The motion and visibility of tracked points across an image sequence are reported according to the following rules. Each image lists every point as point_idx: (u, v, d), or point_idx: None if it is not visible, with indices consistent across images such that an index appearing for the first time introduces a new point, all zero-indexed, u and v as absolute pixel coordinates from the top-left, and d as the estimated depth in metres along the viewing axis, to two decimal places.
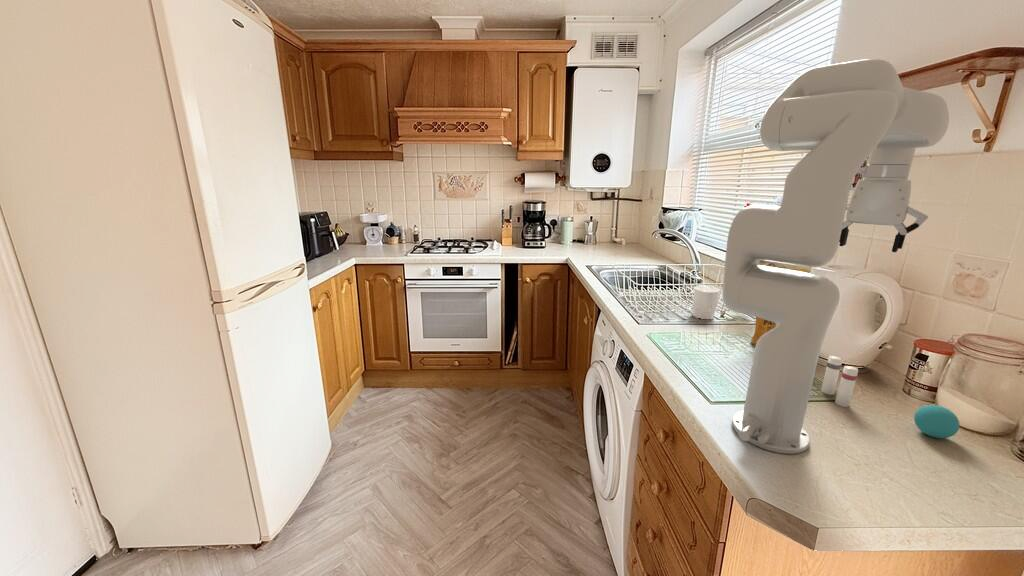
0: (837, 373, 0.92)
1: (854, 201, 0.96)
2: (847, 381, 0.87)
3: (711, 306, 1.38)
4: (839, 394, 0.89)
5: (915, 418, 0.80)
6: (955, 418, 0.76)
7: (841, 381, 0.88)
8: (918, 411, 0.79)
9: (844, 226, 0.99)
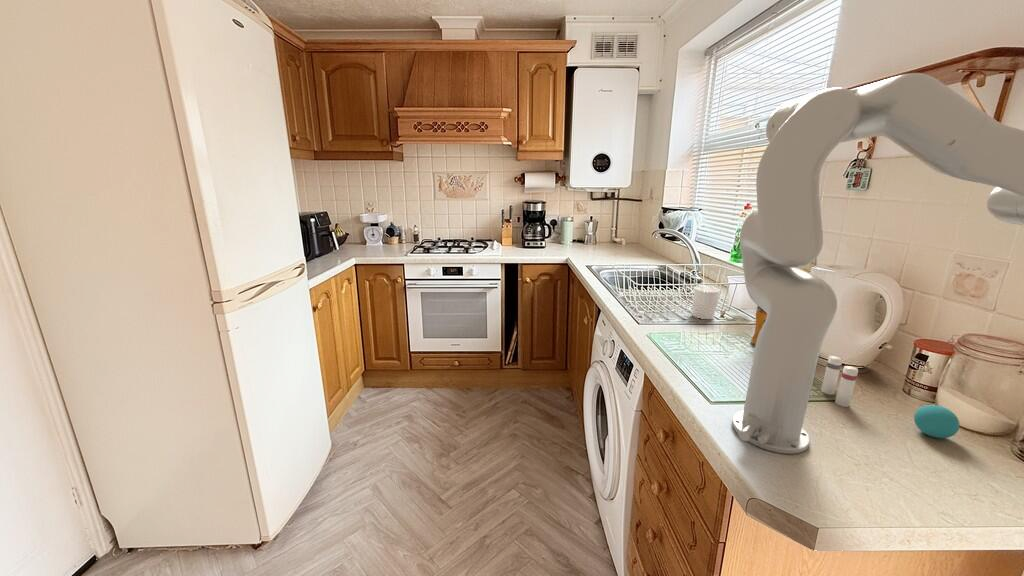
0: (837, 373, 0.92)
1: None
2: (847, 381, 0.87)
3: (711, 306, 1.38)
4: (839, 394, 0.89)
5: (915, 418, 0.80)
6: (955, 418, 0.76)
7: (841, 381, 0.88)
8: (918, 411, 0.79)
9: None
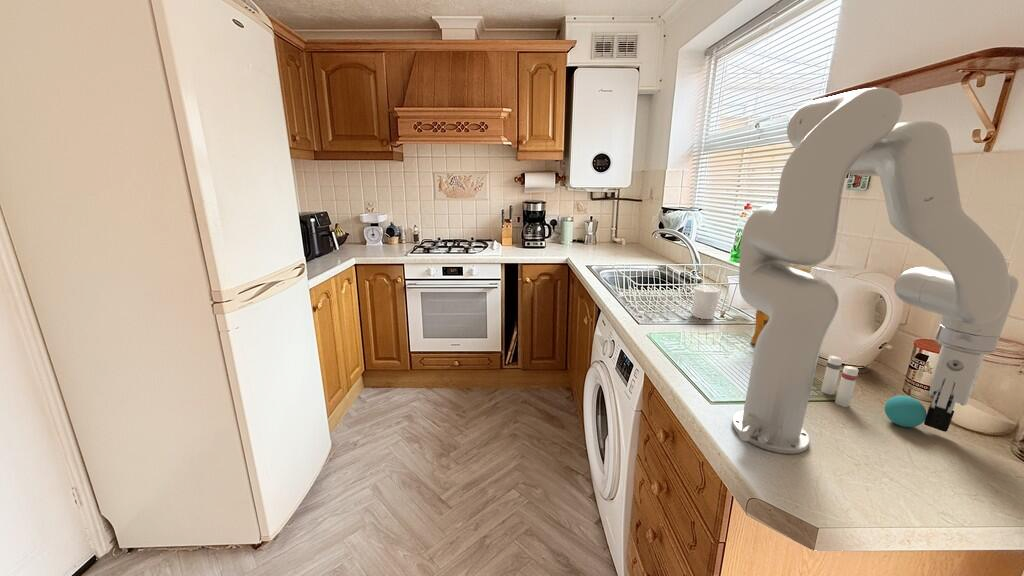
0: (837, 373, 0.92)
1: (972, 382, 0.72)
2: (847, 381, 0.87)
3: (711, 306, 1.38)
4: (839, 394, 0.89)
5: (897, 424, 0.82)
6: (898, 397, 0.82)
7: (841, 381, 0.88)
8: (889, 418, 0.83)
9: (952, 409, 0.77)
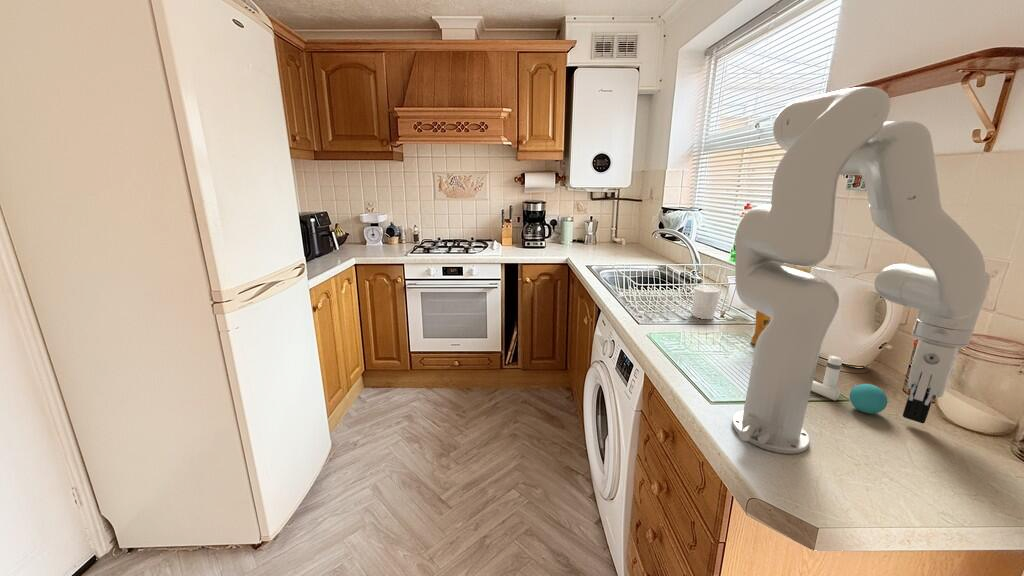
0: (837, 373, 0.92)
1: (948, 375, 0.74)
2: None
3: (711, 306, 1.38)
4: (822, 392, 0.92)
5: (884, 403, 0.83)
6: None
7: None
8: (882, 409, 0.84)
9: (929, 401, 0.79)
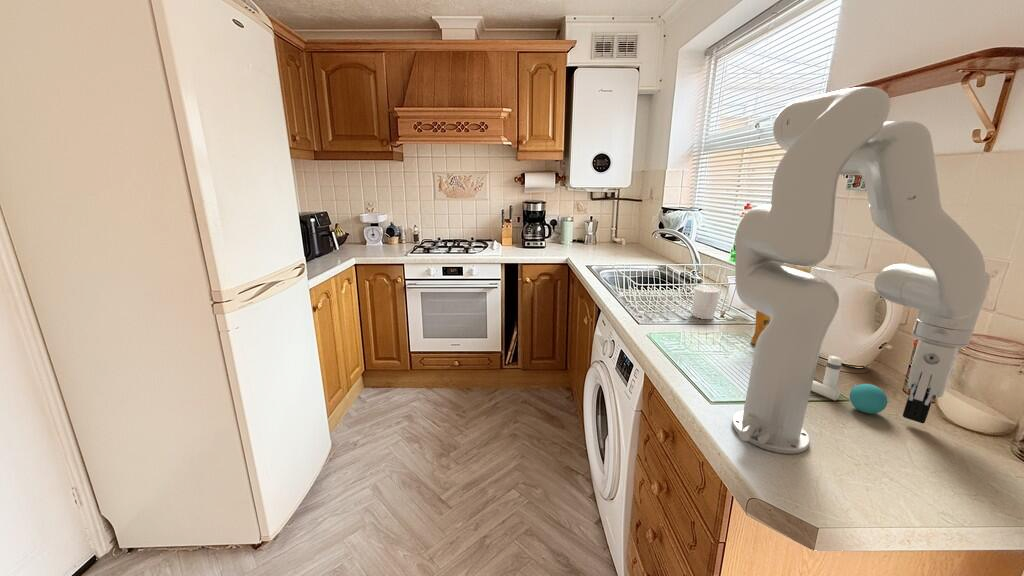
0: (837, 373, 0.92)
1: (948, 375, 0.74)
2: None
3: (711, 306, 1.38)
4: (822, 391, 0.92)
5: (884, 403, 0.83)
6: None
7: None
8: (882, 409, 0.84)
9: (929, 401, 0.79)
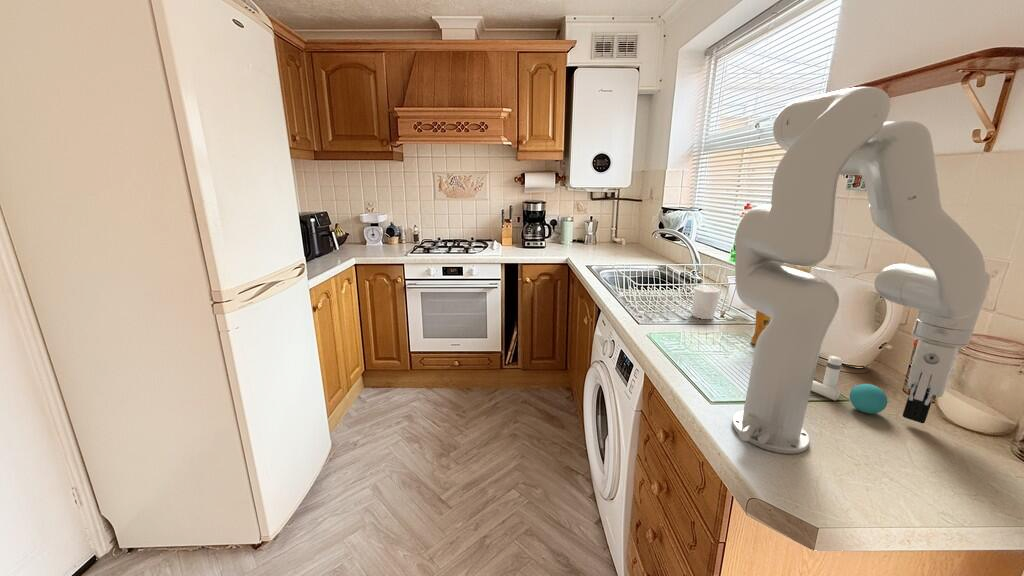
0: (837, 373, 0.92)
1: (948, 374, 0.74)
2: None
3: (711, 306, 1.38)
4: (822, 391, 0.92)
5: (884, 403, 0.83)
6: None
7: None
8: (882, 409, 0.84)
9: (929, 401, 0.79)
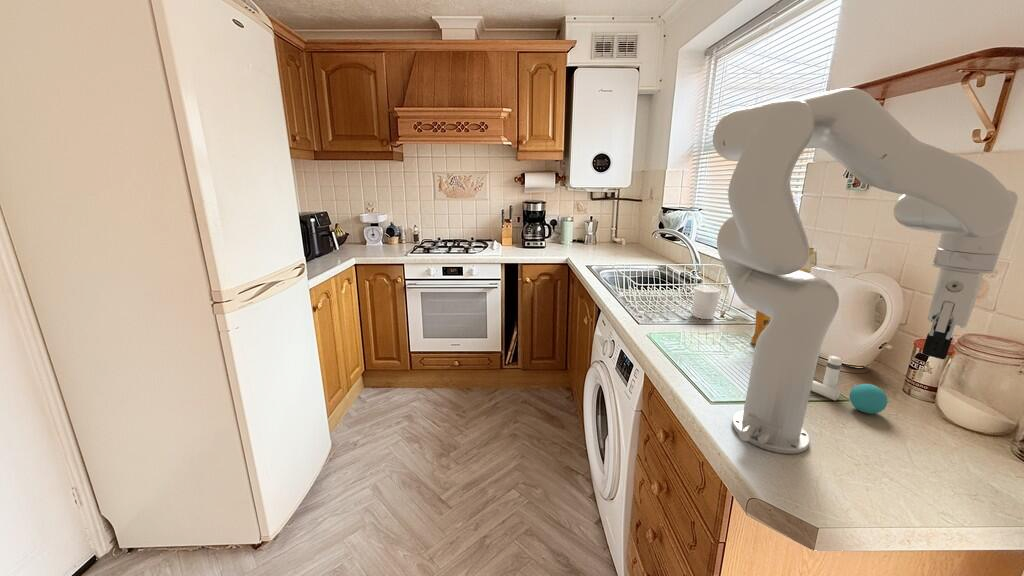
0: (837, 373, 0.92)
1: (972, 302, 0.70)
2: None
3: (711, 306, 1.38)
4: (822, 391, 0.92)
5: (884, 403, 0.83)
6: None
7: None
8: (882, 409, 0.84)
9: (950, 335, 0.75)
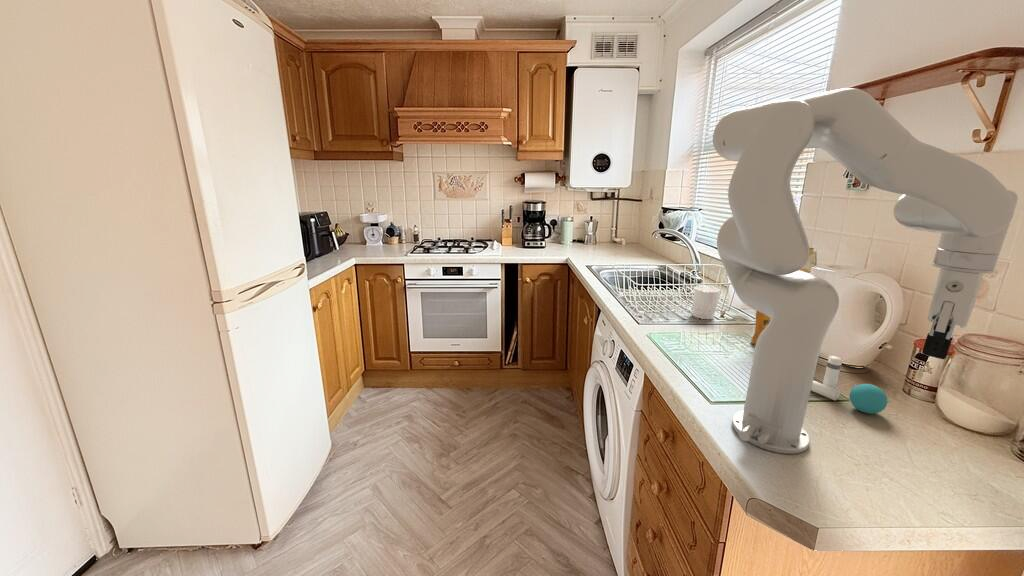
0: (837, 373, 0.92)
1: (972, 302, 0.70)
2: None
3: (711, 306, 1.38)
4: (822, 391, 0.92)
5: (884, 403, 0.83)
6: None
7: None
8: (882, 409, 0.84)
9: (950, 335, 0.75)
